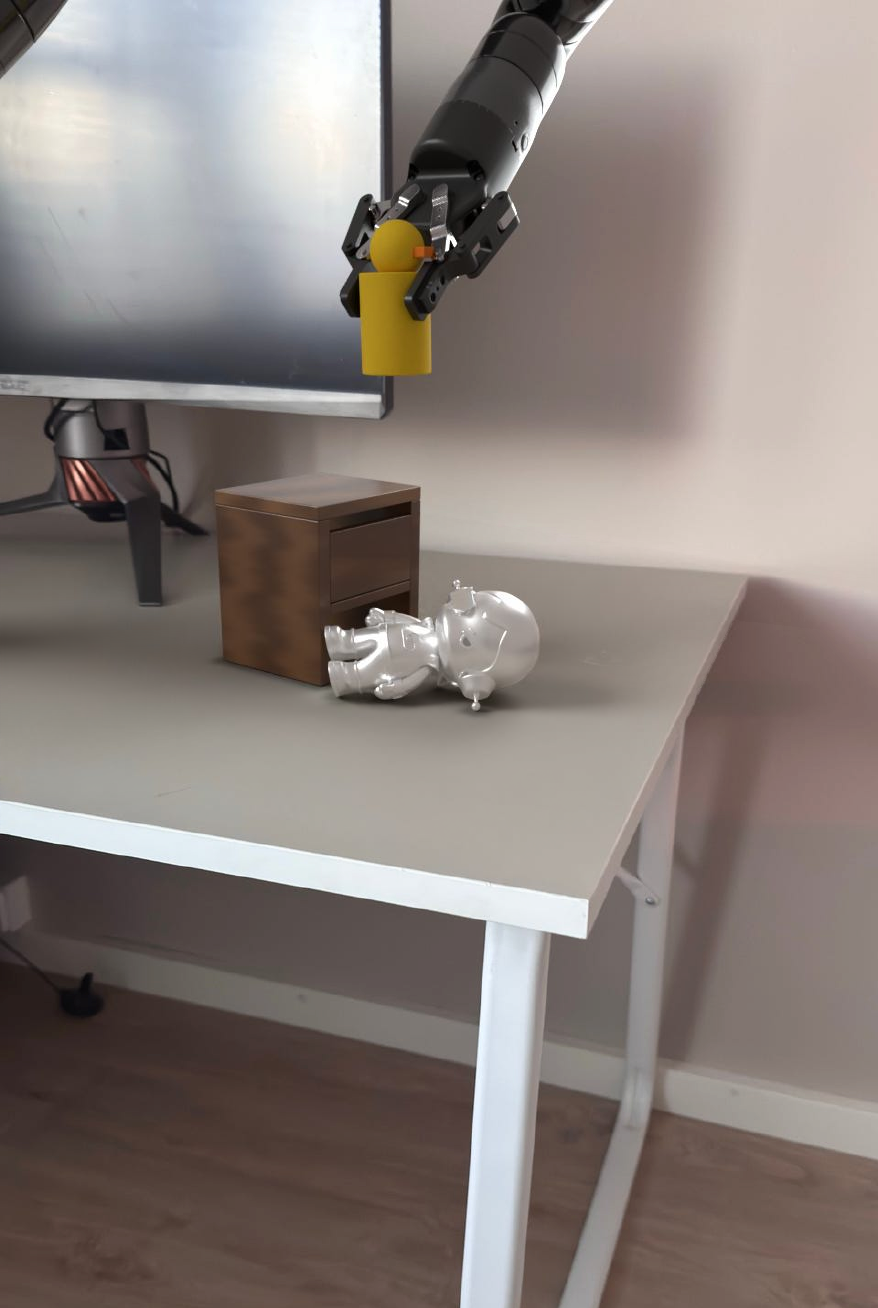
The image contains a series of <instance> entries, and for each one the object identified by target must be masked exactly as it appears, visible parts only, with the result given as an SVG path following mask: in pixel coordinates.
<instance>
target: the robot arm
mask: <svg viewBox="0 0 878 1308" xmlns="http://www.w3.org/2000/svg"><path fill="white" fill-rule="evenodd" d="M68 1H69V0H0V80H1V79H2V78H4V76H5V75H6V74H7V73H8V72H9V71H10V70H11V69H12V68H13V67H14V66H15V65H16V64H17V63H18V62H19V61H20V60H21V59H22V58H23V57H24V56H25V54H26V53H28V51H29V50H30V49H31V48H32V47H33V46H34V44H36V43H37V42H38V40H40V38H41V37H42V36H43V35H44V34H45V32H46V31H47V30H48V28H49V27H50V26H51V24H52V23H53V22H54V21H55V19H56V18H57V17H58V16H59V14H60V13H61V11H62V10H63V9H64V7H65V6H66V4H67V3H68ZM613 1H614V0H501V2H500V4H499V6H498V8H497V10H496V12H495V15H494V17H493V19H492V22H491V24H490V26H489V28H488V29H487V31H486V32H485V33H484V35H483V36H482V37H481V40H480V41H479V43H478V45H477V46H476V47H475V50H474V51H473V53H472V55H471V56H470V58H469V60H468V62H467V63H466V64H465V67H464V68H463V69H462V71H461V72H460V73H459V75H458V76H457V77H456V78H455V79H454V81H453V82H452V83H451V85H450V86H449V87H448V89H447V91H446V92H445V94H444V95H443V98H442V99H441V100H440V102H439V104H438V105H437V107H436V109H435V111H434V113H433V114H432V116H431V117H430V119H429V121H428V123H427V125H426V126H425V128H424V130H423V132H422V134H421V135H420V136H419V138H418V140H417V142H416V143H415V145H414V147H413V149H412V150H411V153H410V156H409V161H408V171H407V177H406V181H405V182H404V183H403V185H402V186H400V188H398V189H397V190H395V192H394V193H393V195H392V197H391V198H390V199H386V200H381V201H376V200H375V197H374V196H373V194H371V193H366V194H364V195H362V196H361V197H360V198H359V200H358V202H357V205H356V208H355V210H354V212H353V216H352V218H351V221H350V224H349V226H348V228H347V232H346V234H345V236H344V240H343V242H342V245H341V251H342V253H343V254H344V256H345V258H346V260H347V261H348V263H349V265H350V267H351V268H352V270H351V271H350V273H349V275H348V277H347V278H346V281H345V282H344V284H343V285H342V287H341V288H340V291H339V294H338V295H339V301H340V303H341V305H342V306H343V308H344V310H345V311H346V314H347V315H348V316H349V317H350V318H354V319H359V318H360V319H361V315H360V287H359V273H376V272H378V270H377V269H376V268H375V266H374V265H373V263H372V260H371V256H370V242H371V238H372V236H373V234H374V232H375V231H376V229H377V228H378V227H379V226H380V225H382V224H383V223H385V222H387V221H390V220H396V219H398V220H404V221H407V222H409V223H411V224H412V225H413V226H415V227H416V228H417V230H418V231H419V232H420V234H421V236H422V238H423V241H424V246H425V247H434V254H433V256H432V257H431V258H430V260H431V261H429V260H428V261H427V260H425V261H424V260H423V262H422V264H421V266H420V268H419V269H418V271H417V272H418V274H417V276H416V277H415V279H414V281H413V283H412V285H411V286H410V288H409V290H408V292H407V293H406V295H405V298H404V304H405V307H406V308H407V310H408V312H409V314H410V316H411V317H412V319H413V320H414V321H424V320H425V319H426V317H427V316H428V314H430V313H433V311H434V310H435V309H436V308H437V306H438V304H439V302H440V300H441V298H442V296H443V295H444V293H445V291H446V289H447V288H448V286H449V285H452V284H454V283H455V282H457V280H458V279H459V277H461V276H465V275H466V277H467V279H469V280H474V279H476V278H478V277H479V276H480V275H482V273H483V272H484V271H485V269H486V268H487V266H488V265H489V264H490V262H491V261H492V260H493V259H494V257H495V256H496V255H497V254H498V252H499V251H500V250H501V248H502V247H503V246H504V244H505V243H506V242H507V241H508V239H509V238H510V237H511V236H512V235H513V233H514V232H515V230H516V229H517V228H518V226H519V225H520V222H521V221H520V219H519V216H518V214H517V211H516V207H515V206H514V205H515V204H514V203H513V201H512V199H511V197H510V195H509V192H508V189H509V188H510V185H511V183H512V182H513V180H514V178H515V177H516V175H517V172H518V171H519V169H520V167H521V165H522V164H523V162H524V160H525V158H526V156H527V155H528V152H529V151H530V149H531V146H532V145H533V142H534V139H535V137H536V133H537V131H538V128H539V126H540V124H541V123H542V121H543V118H544V116H545V115H546V113H547V111H548V109H549V108H550V106H551V104H552V102H553V101H554V99H555V97H556V95H557V93H558V91H559V89H560V86H561V84H562V81H563V78H564V75H565V70H566V63H567V61H568V59H569V58H570V56H571V55H572V54H573V52H574V51H575V49H576V48H577V46H578V45H579V44H580V42H581V41H582V40H583V38H584V37H585V36H586V35H587V33H588V32H589V31H590V29H592V27H593V26H594V25H595V24H596V22H597V21H598V20H599V18H600V17H601V16H602V15H603V14H604V13H605V11H606V10H607V9H608V8H609V6H610V5H611V4H612V2H613ZM478 244H479V248H478V251H476V252H474V249H475V247H476V246H477V245H478Z"/></svg>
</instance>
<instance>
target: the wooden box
mask: <svg viewBox="0 0 878 1308" xmlns="http://www.w3.org/2000/svg"><path fill="white" fill-rule="evenodd" d="M421 488H422V487H421V486H420V485H415V484H406V483H400V482H399V483H398V482H392V481H387V480H379V479H372V478H364V477H360V476H359V477H358V476H352V475H351V476H350V475H343V474H337V473H329V472H322V471H321V472H315V473H307V474H303V475H296V476H291V477H285V478H278V479H273V480H267V481H262V482H255V483H249V484H244V485H237V486H232V487H231V486H230V487H226V488H219V489H215V490H214V502H215V520H216V521H215V522H216V523H215V524H216V541H217V542H216V543H217V564H218V578H219V579H218V581H219V582H218V583H219V602H220V603H219V604H220V620H221V621H220V622H221V641H222V643H221V644H222V660H223V661H225V662H229V663H233V664H237V665H240V666H244V667H249V668H251V669H254V670H255V669H256V670H260V671H263V672H267V673H271V674H274V675H278V676H281V677H285V678H289V679H293V680H297V681H300V682H304V683H308V684H312V685H316V686H319V687H323V686H325V685H328V684H331V681H330V676H329V669H328V662H329V661H331V659H330V656H329V653H328V650H327V646H326V640H325V631H324V629H325V626H339V627H340V628H341V629H342V630H351V628H354V630H356V629H361V628H366V627H367V625H366V623H365V618H366V617H367V616H368V615H369V614H370V613H369V611H370V609H371V608H378V609H380V610H383V611H390V610H394V611H395V612H396V613H401V614H405V615H409V616H412V617H414V618H417V619H419V605H420V604H419V603H420V600H419V599H420V597H419V596H420V595H419V594H420V548H421V547H420V545H421V543H420V542H421V493H422V492H421Z"/></svg>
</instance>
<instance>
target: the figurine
mask: <svg viewBox="0 0 878 1308" xmlns="http://www.w3.org/2000/svg"><path fill="white" fill-rule="evenodd" d="M451 585H452V588H454V590H452V591H451V592H449V594H448V597H447V602H446V603H445V604H443V605H441V606H440V608H439V609H438V611H437V614H436V619H435V625H434V621H433V618H432V617H430V616H429V617H424V618H422V620H421V619H419V618H418V619H417V618H414V617H412V616H409V615H405V614H401V613H396V612H395V611H394V610H390V611H383V610H380V609H378V608H371V609H370V611H369V613H370V614H369V615H368V616H367V617H366V618H365V623H366V625H367V627H366V628H361V629H356V630H354V628H351V630H342V629H341V628H340V627H339V626H325V629H324V631H325V640H326V646H327V650H328V653H329V656H330V659H331V661H329V662H328V669H329V676H330V681H331V683H330V685H331V688H332V692H333V694H334V695H335V697H336V698H339V697H342V696H344V695H349V694H356V693H359V694H363V693H364V691H369V690H373V694H374V696H375V697H376V698H378V699H380V700H392V699H393V700H397V699H401V698H403V697H405V696H408V695H409V693H411V692H413V691H414V690H416V689H417V688H418V687H420V686H421V685H423V684H424V683H425V682H427V680H429V678H430V677H432V678H435V679H437V684H436V685H437V686H438V687H442V686H445V685H447V684H450V685H451V686H452V687H455V688H458V689H459V690H460V691H461V693H462V695H463V696H464V697H465V698H466V699H469V700H473V702H472V703H471V709H472V710H473V711H476V712H477V711H479V710H480V709H481V704H480V702H479V701H482V700H484V699H487V698H488V697H490V695H491V693H492V691H495V690H500V689H505V688H508V687H511V686H514V685H516V684H518V683H520V682H521V681H523V680H524V679H525V678H526V677H527V676H529V674H530V673H531V672H532V671H533V669H534V667H535V666H536V664H537V661H538V659H539V655H540V647H541V645H540V644H541V642H540V641H541V640H540V639H541V638H540V637H541V636H540V635H541V634H540V629H539V626H538V624H537V621H536V618H535V616H534V614H533V612H532V610H531V609H530V608H529V606H528V605H527V604H526V603H525V602H524V601H522V599H519V598H518V597H516V596H514V595H513V594H511V593H508V592H505V591H501V590H479V591H475V590H474V589H473V585H472V586H462V587H461V581H460V580H458V579H455V580H453V581H452V583H451ZM349 660H354V661H349ZM346 661H347V662H346Z"/></svg>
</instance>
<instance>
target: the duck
mask: <svg viewBox="0 0 878 1308" xmlns="http://www.w3.org/2000/svg"><path fill="white" fill-rule="evenodd" d="M433 254H434V247H425V246H424V241H423V238H422V236H421V234H420V232H419V231H418V230H417V228H416V227H415V226H413V225H412V224H411V223H409V222H407V221H404V220H398V219H396V220H390V221H387V222H385V223H383V224H382V225H380V226H379V227H378V228H377V229H376V231H375V232H374V234H373V236H372V238H371V242H370V256H371V260H372V263H373V265H374V266H375V268H376V269H377V270H378V272H376V273H359V287H360V315H361V317H360V336H361V337H360V341H361V343H360V344H361V369H362V374H363V375H366V376H372V377H373V376H374V377H376V376H377V377H404V376H405V377H408V376H409V377H410V376H423V375H430V374H431V373H432V318H431V317H432V316H431V313H432V312H431V313H430V314H428V316H427V317H426V319H425V320H424V321H414V320H413V319H412V317H411V316H410V314H409V312H408V310H407V308H406V307H405V304H404V298H405V295H406V293H407V292H408V290H409V288H410V286H411V285H412V283H413V281H414V279H415V277H416V276H417V274H418V272H419V270H420V269H421V267H422V265H423V263H424V259H426V258H428V259H429V258H430V259H431V257H432V256H433Z"/></svg>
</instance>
